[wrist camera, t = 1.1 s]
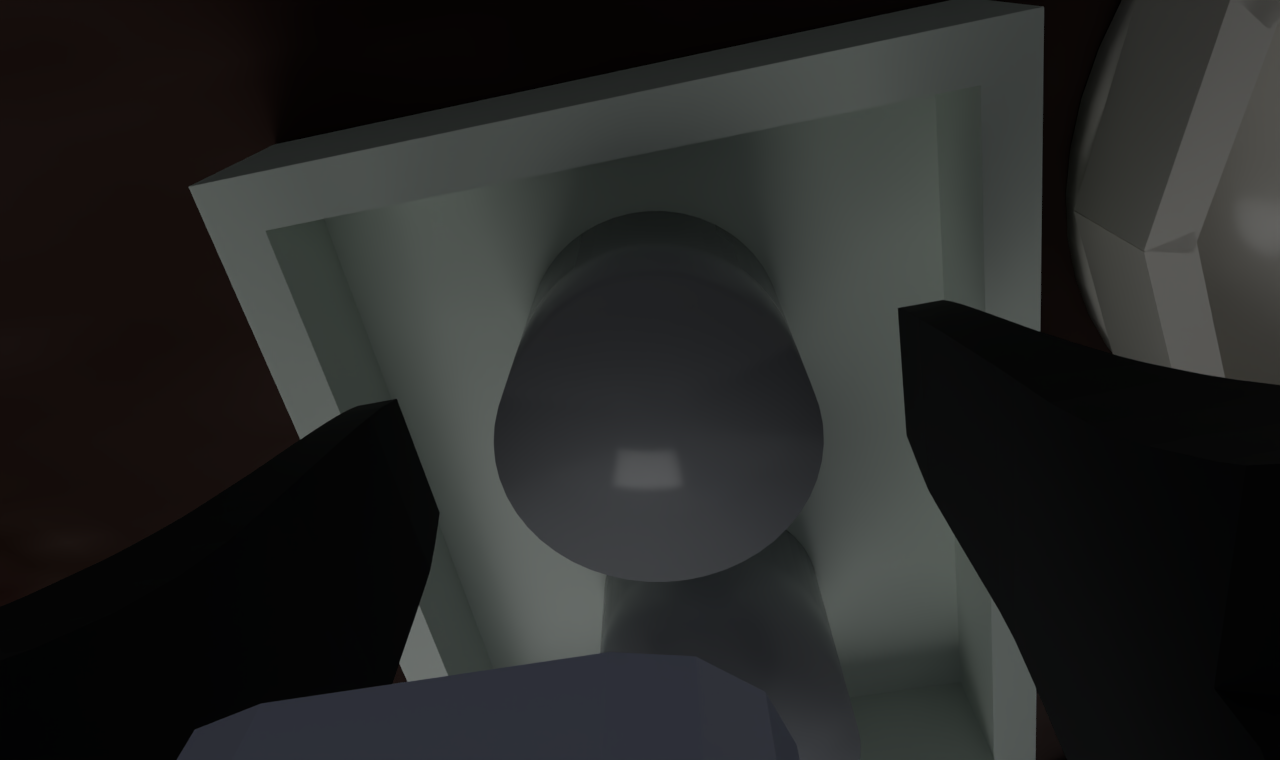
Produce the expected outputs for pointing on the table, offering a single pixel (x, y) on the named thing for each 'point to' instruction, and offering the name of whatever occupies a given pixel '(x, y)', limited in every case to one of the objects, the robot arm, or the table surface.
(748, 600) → the pebble
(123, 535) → the table surface
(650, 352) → the pebble
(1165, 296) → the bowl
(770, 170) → the parts tray
